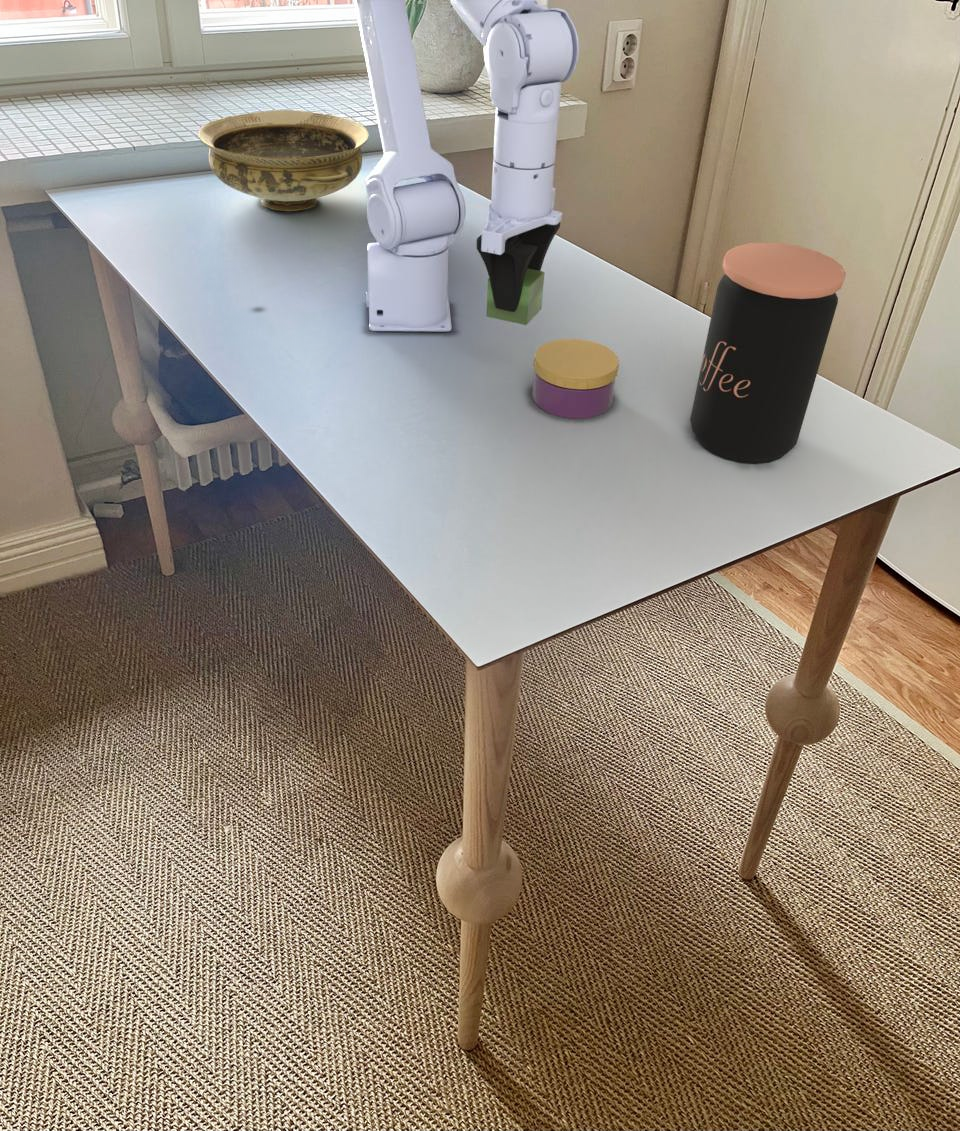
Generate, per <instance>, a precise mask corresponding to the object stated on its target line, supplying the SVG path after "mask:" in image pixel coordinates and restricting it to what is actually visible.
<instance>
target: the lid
mask: <svg viewBox="0 0 960 1131" xmlns="http://www.w3.org/2000/svg"><path fill="white" fill-rule="evenodd" d="M619 361H620V360H619V357H618V355H617V354H616V353H615V352H614V350H612V349H611V348H609V347H608V346H605V345H604V344H601V343H599V342H595V341H592V340H591V341H590V340H587V339H579V338H562V339H554V340H550V341H548V342H545V343H543V344H542V345H539V347H538V348H537V349H536V350H535V352H534V358H533V362H532V367H533V372H534V371H535V372H536V373H537V375H538V376H539V377H541V378H542V379H543V380H545V381H547V382H549V383H551V384H553V385H556V386H559V387H564V388H569V389H594V388H599V387H602V386H605V385H607V384H609V383H611V382H612V381H613V380H614V379H615V380H616V378H617V377H618V373H619V367H620V364H619V363H620V362H619Z"/></svg>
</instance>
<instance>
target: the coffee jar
mask: <svg viewBox="0 0 960 1131" xmlns="http://www.w3.org/2000/svg"><path fill="white" fill-rule="evenodd" d="M722 269H723V273H724V275H722V277H721V279H720V280H719V282H718V284H717V286H716V287H717V288H716V292H715V297H714V301H713V305H712V306H713V307H712V312H711V316H710V320H709V326H708V331H707V335H706V340H705V346H704V349H703V355H702V360H701V365H700V368H699V369H700V370H699V374H698V379H697V384H696V389H695V393H694V398H693V403H692V407H691V413H690V418H689V422H690V427H691V430H692V433H693V434H694V438H695V439H696V441H697V442H698V444H700V446H701V447H702V448H703V449H705V450H706V451H707V452H709V453H710V454H712V455H714V456H716V457H718V458H722V459H724V460H727V461H731V462H735V463H738V464H750V465H759V464H768V463H772V462H775V461H777V460H780V459H782V458H783V457H784V456H785V455H787V454H788V453H789V452H790V451H791V450H793V448H795V446H797V443H798V441H799V437H800V433H801V430H802V426H803V424H804V421H805V416H806V413H807V410H808V407H809V403H810V399H811V396H812V392H813V389H814V385H815V382H816V379H817V375H818V371H819V368H820V365H821V362H822V358H823V355H824V351H825V348H826V344H827V340H828V338H829V334H830V331H831V328H832V324H833V320H834V317H835V314H836V310H837V306H838V304H839V298H838V295H837V292H838V291H840V290H841V289H842V287H843V284H844V281H845V279H846V276H847V274H846V271H845V269H844V267H843V265H842V264H841V263H840V262H838V261H837V260H835V259H834V258H832V257H831V256H828V255H827V254H824V253H823V252H820V251H817V250H813V249H811V248H807V247H804V246H800V245H793V244H790V243H789V244H788V243H782V242H781V243H780V242H766V241H765V242H749V243H745V244H741V245H736V246H733V247H732V248H730V249H729V250H727V252H726V253H725V255H724V257H723V258H722Z"/></svg>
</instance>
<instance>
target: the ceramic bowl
mask: <svg viewBox="0 0 960 1131" xmlns="http://www.w3.org/2000/svg"><path fill="white" fill-rule="evenodd" d="M197 134H198V139H199V140H200V141H201V142H202V144H204V145H205V146H206V147H207V148H209V149H208V163H209V166H210V169H211V171H212V173H213V174H214V175H215V176H216V178H217V179H218V180H220V181H221V182H222V183H223V184H225V185H227V186H228V187H230V188H232V189H233V190H235V191H238V192H240V193H243V194H246V195H247V196H252V197H255V198H259V199H261V200H260V201H261V205H262V206H264V207H265V208H268V209H271V210H276V211H280V212H282V211H283V212H295V211H304V210H308V209H310V208H313V207H315V206H316V205H317V203H318V201H317V199H318V198H322V197H325V196H328V195H331V194H334V193H336V192H338V191H340V190H343V189H344V188H346V187H347V186H349V185H350V184H351V183H352V182H353V181H354V180H355V179H356V178H357V177H358V176H359V174H360V172H361V170H362V166H363V154H362V149H361V148H362V147H363V146H364V145H365V144H366V143H367V141H368V139H369V137H370V133H369V131H368V129H367V128H366V127H365V126H364V125H362V124H361V123H358V122H357V121H355V120H351V119H349V118H345V117H341V116H339V115H338V116H337V115H333V114H325V113H320V112H312V111H306V110H291V109H282V110H281V109H279V110H264V111H255V112H249V113H242V114H235V115H230V116H225V117H221V118H218V119H215V120H212V121H210V122H208V123H206V124H204V125H202V127H200V129H199V130H198V133H197Z"/></svg>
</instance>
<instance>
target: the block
mask: <svg viewBox="0 0 960 1131" xmlns="http://www.w3.org/2000/svg"><path fill="white" fill-rule="evenodd" d="M544 283H545V271H542V270H541V271H538V270H533V269H528V268H527V271H526V274H525V277H524V282H523V287H522V292H521V297H520V301H519V304H518V307H517V309H516V311H515V312H510V311H506V310H501V309H497V308H496V307H495V303H494V299H493V294H492V288H491V283H490V279H489V277H488V278H487V287H486V288H487V289H486V290H487V292H486V309H485V310H486V312H485V316H486V317H487V318H491V319H496V320H501V321H505V322H509V323H514V324H519V325H524V326H527V325H528V324H529V323H530V322H531V321H532V320H533V319H534V318H535V316H536V315H537V314H538V313H539V312H540V311H541V310H542V308H543V307H542V305H543V296H544V295H543V294H544Z"/></svg>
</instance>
